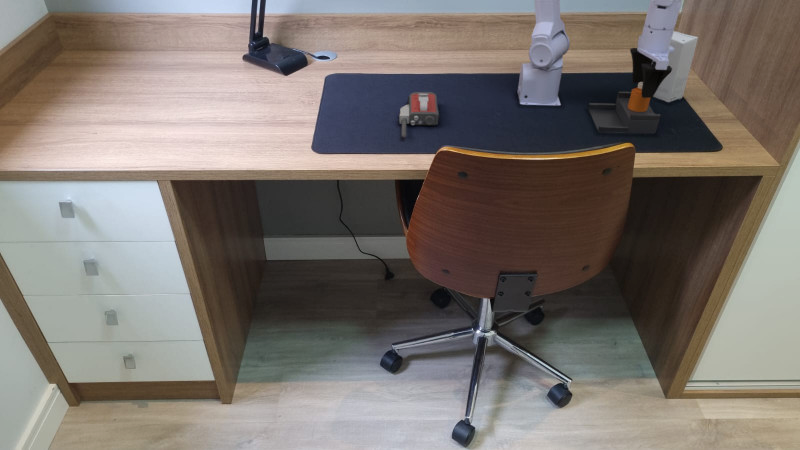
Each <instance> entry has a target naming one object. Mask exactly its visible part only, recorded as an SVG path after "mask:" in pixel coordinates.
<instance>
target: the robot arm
mask: <svg viewBox="0 0 800 450" xmlns="http://www.w3.org/2000/svg"><path fill="white" fill-rule="evenodd" d="M533 1H534V13H535V25H534V28H533V31H532V33H531V36H530V37H531V44H530V47H529V48H528V58H529V61H530V62H526V63H525V62H523V63H521V66H520V70H519V71H520V72H519V78H518V80H519V81H518V86H517V90H516V91H517V92H516V93H517V95H518V102H519V104H520V105H525V106H526V105H527V106H529V105H530V106H531V105H532V106H533V105H535V106H561V105H562V104H561V101H560V98H559V91H560V86H561V85H560V84H561V79H562V73H563V67H564V61H563V60H564V59H563V56H565V55H566V54H567V53H568V52H569V49H570V45H571V42H570V38H569V36H568V34H567V32H566V24H565V23H564V22H563V20H562V19H561V5H560V3H561V1H560V0H533ZM681 7H682V0H650V1H649V5H648V9H647V13H646V17H645V20H644V25H643V28H642V32H641V35H639V36H638V40H637V44H636V45H637V47H632V48H630V50H629V51H630V56H631V61H632V75H631V76H632V77H631V78H632V83H633V84H638V83H639V82H643V85H642V97H643V98H650V99H653V98H654V97H653V96H654V94H655V92H656V91H657V89H658V87H659V86H660V84H661V83H662V81H663V80H664V79H665V78H666V77H667V76H668V75H669V74H670V73H671V71H672V68H671V67H670V66H668V63H669V60H668V54H669V53H673V52H674V48H673V47H672V46H669V45H670V42H671V38H672V35H673V31H675V28H676V25H677V21H678V17H679V14H680V11H681Z"/></svg>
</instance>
